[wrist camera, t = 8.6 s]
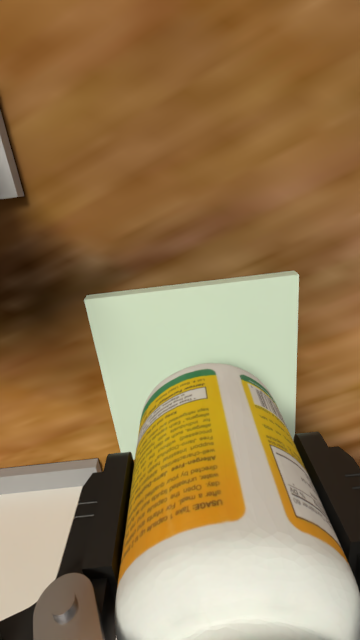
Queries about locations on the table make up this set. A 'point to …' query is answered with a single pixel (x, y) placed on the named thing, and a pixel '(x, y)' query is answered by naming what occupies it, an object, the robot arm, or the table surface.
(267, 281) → the pad
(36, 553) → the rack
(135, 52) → the table surface
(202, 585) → the supplement bottle
